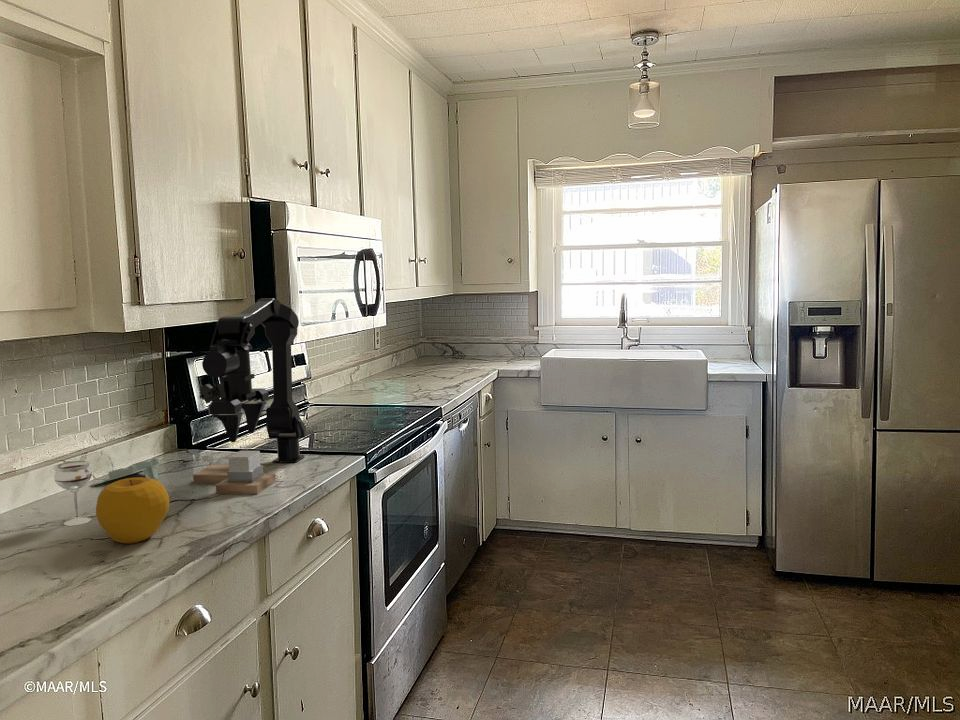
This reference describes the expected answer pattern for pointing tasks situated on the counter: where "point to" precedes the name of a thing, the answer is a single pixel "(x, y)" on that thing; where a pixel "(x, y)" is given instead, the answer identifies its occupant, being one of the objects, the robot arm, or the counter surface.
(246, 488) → the stand
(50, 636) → the counter surface
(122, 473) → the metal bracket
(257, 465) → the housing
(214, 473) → the stand
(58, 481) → the wineglass
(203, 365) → the robot arm
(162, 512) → the apple
